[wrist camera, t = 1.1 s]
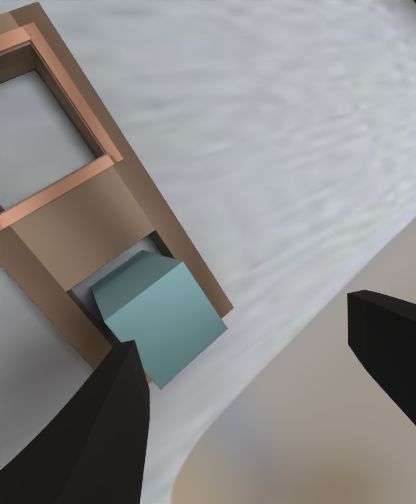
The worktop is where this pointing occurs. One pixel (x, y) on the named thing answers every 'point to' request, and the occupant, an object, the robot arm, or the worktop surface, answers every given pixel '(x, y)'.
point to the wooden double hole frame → (82, 197)
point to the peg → (158, 313)
